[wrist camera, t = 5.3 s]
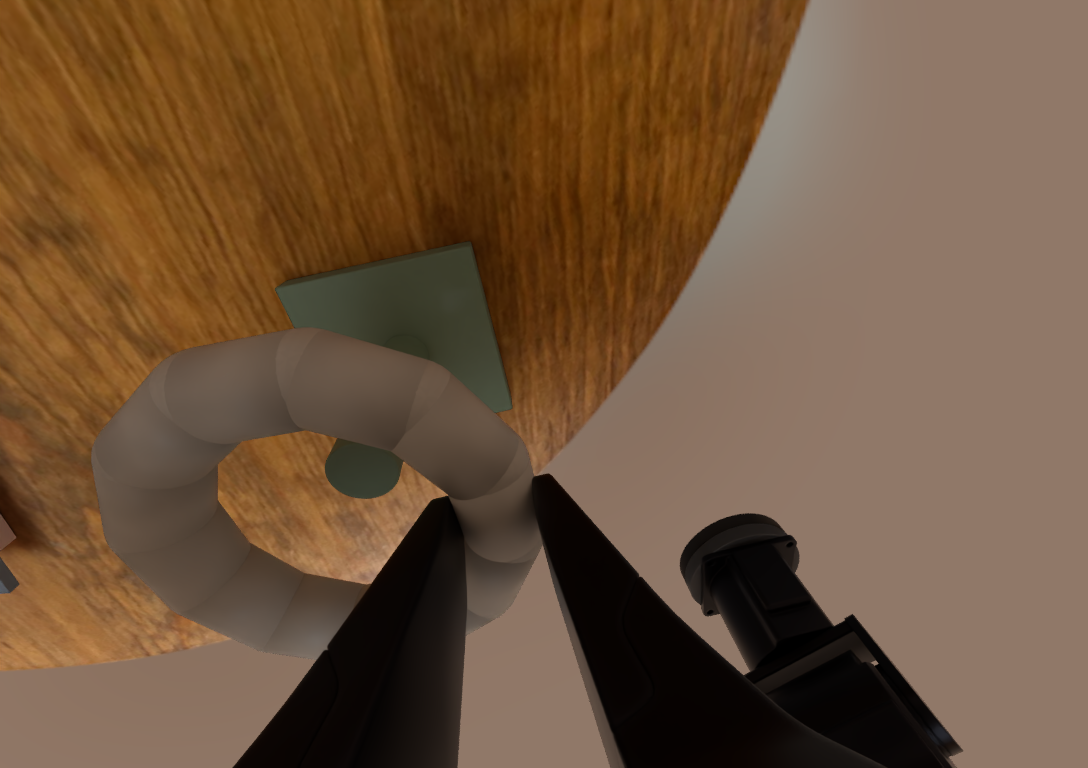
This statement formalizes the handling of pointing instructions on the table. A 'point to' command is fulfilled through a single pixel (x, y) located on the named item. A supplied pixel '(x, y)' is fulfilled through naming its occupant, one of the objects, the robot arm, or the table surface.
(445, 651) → the robot arm
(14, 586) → the desk lamp
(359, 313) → the post stand
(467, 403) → the segmented ring
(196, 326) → the table surface
